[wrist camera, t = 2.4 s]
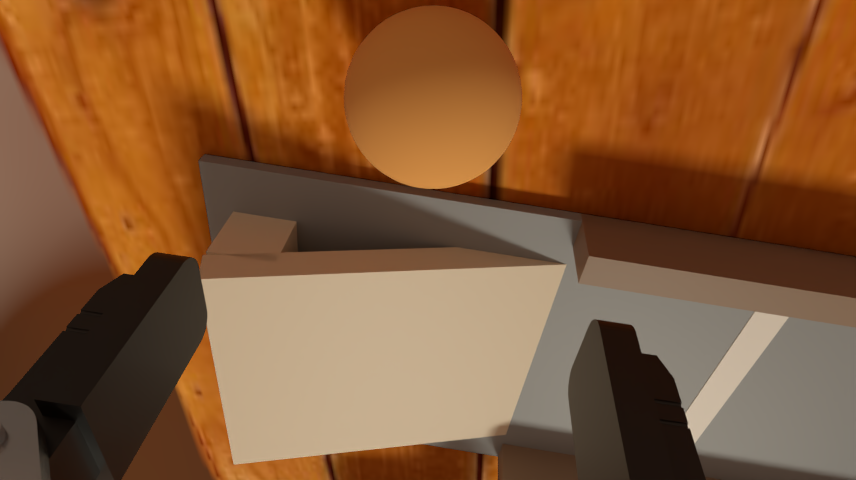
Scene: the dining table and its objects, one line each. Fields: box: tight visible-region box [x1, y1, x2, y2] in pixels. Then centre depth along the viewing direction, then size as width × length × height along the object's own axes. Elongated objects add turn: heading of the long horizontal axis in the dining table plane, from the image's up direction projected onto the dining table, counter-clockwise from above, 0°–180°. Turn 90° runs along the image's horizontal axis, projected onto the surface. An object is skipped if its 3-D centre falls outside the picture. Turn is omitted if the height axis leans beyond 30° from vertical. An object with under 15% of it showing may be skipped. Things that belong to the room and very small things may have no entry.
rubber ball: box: [344, 5, 522, 189], centre depth 19 cm, size 6×6×6 cm
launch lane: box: [199, 154, 856, 480], centre depth 28 cm, size 42×19×7 cm, turn 84°
